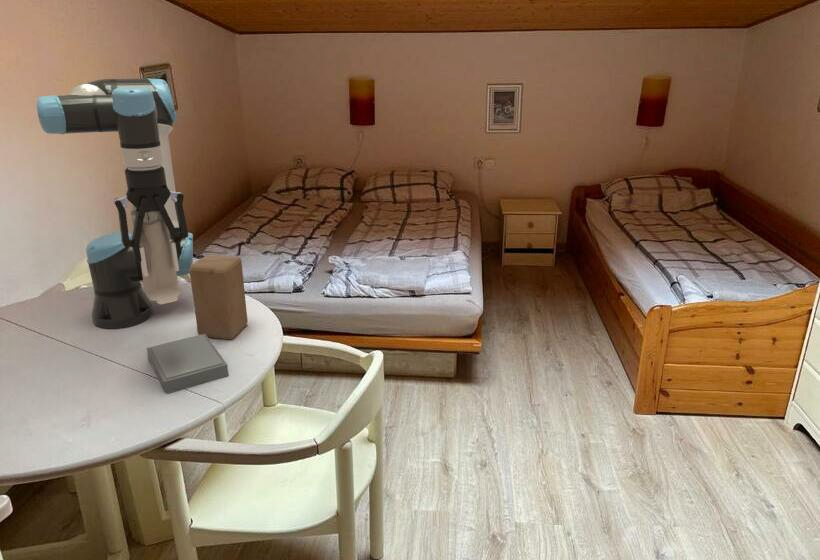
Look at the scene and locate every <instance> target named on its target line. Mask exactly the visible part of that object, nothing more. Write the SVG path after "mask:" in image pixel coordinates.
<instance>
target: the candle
mask: <svg viewBox="0 0 820 560" xmlns="http://www.w3.org/2000/svg"><path fill="white" fill-rule="evenodd" d="M135 216H136V207H135V206H134V205H133V204H132V208H131V210H130V217H131V222H132V226H133V227H134V223H135ZM169 240H170V233H169V230H168V228H167V226H166V224H165V222H164V220H163V218H162V216H161V214H160V212H159V211H150V212H146V213H145V217H144V220H143V226H142V233H141V239H140V244H142V246H143V248H144V253H145V259H146V265H147V271H148V276H147V277H145V276H144V275H143V272H142V276H143V280H142V282H143V286H144V287H143V288H144V290H145V292H146V293H145V294H146V296H147V298H148V299H149V301H152V302H156V303H157V304H158V305H164V304H170V303H173V302H176V301H178V300H179V296H180V295H181V294H182V291H183V290H182V287H181V286H180V284H179V280H178V279H179V278H178V276H177V274H176V271H175V269H174V268H173V263H172V256H171V250H170V243H169ZM141 269H142V267H141Z"/></svg>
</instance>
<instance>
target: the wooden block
mask: <svg viewBox="0 0 820 560" xmlns="http://www.w3.org/2000/svg"><path fill="white" fill-rule="evenodd" d="M242 263H243V261H242V258H241V257H240V256H229V255H219V254H206V255H205V256H203V257H202V258H200V259H198V260H196V262H193V265H191V266H190V268H189V272H190V273H189V278H190V279H189V280H190V284H191V285H190V286H191V293H192V299H193V306H194V307H193V308H194V313H195V315H194V316H195V320H196V321H195V323H196V329H197V335H201V334H206V336H207V337H208V338H213V339H221V340H233V339H234V338H235V337H236V336H237V335H239V333H240V332H242V330H243V329H245V327H246V326H247V325H248V321H249V320H248V314H247V313H248V312H247V303H246V302H247V301H246V293H245V284H244V283H245V282H244V274H243V264H242Z"/></svg>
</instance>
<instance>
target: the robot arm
mask: <svg viewBox="0 0 820 560" xmlns="http://www.w3.org/2000/svg"><path fill="white" fill-rule="evenodd" d="M36 110H37V116H38V120H39V121H38V122H39V124H40V127H41V129H42V130H43V132H45V133H46V134H49V135H50V134H52V135H55V134H58V135H59V134H60V135H66V134H67V135H68V134H85V133H112V132H113V133H115V132H116V133H118V137H119V142H120V143H119V144H120V145H119V146H120V151H121V152H120V153H121V158H122V163H123V166H124V167H126V168H125V170H124V175H125V180H126V181H125V182H126V185H127V186H126V187H127V191H126V194H125V196H123V197H120V198H114V199H113V203H114V205H115V207H116V209H117V213H118V222H119V228H120V229H119V230H120V231H118V232H112V233H108V234H105V235H102V236H99V237H96V238H94V239H93V240H91V241H90V242H89V243H88V244H87V245H86V248H85V249H86V250H85V251H86V257H87V259H86V263H87V264H88V268H89V272H90V277H91V282H92V288H93V291H94V298H93V299H94V300H93V306H92V312H91V317H92V323H93V324H94V325H95V326H97V327H98V328H102V329H121V328H127V327H132V326H135V325H138V324H141V323H143V322H145V321H147V320H148V319H149V318H150V317H152V315H153V307H152V303H151V300H150V299H149V298H148V296H147V293H145V291H144V289H143V288H142V283H141V281H143V276H142V272H143V275H144V276H145V277H147V276H148V271H147V265H146V259H145V253H144V248H143V246H142V244H140V239H141V233H142V226H143V220H144V217H145V213H146V212H150V211H159V212H160V214H161V216H162V218H163V220H164V222H165V224H166V226H167V228H168V230H169V233H170V240H169V243H170V250H171V256H172V263H173V268H174V269H175V271H176V274H177V277H179V276H180V277H181V276H187V275H190V272H189V268H190V266H191V265H193V264H194V256H193V255H194V254H193V253H194V235H193V233H191V232H188V227H187V223H186V217H185V211H184V207H183V205H184V194H183V193H182V192H181V191H176V185H175V177H174V171H173V170H174V169H173V164H172V163H173V162H172V154H171V148H170V140H169V135H170V133H171V132H172V131H173V129H174V127H173V124H175V123H177V122H178V118H177V117H178V116H177V113H176V109H175V105H174V100H173V97H172V94H171V90H170V87H169V84H168V83H167V81H166V80H164V79H160V78H149V77H147V78H103V79H96V80H93V81H88V82H86V83H82V84H79V85H77V86H75V87H74V88H72V89H71V91H70V92H69V93H68V94H65V95H56V94H51V95H43V96H39V97H38V98H37V101H36ZM128 202H129V203H130V204H132V206H133V205H134V206H135V207H136V216H135V223H134V226H133V229H132V233H131V232H129V228H128V227H129V226H128V217H127V211H126V208H128ZM141 267H142V269H141Z"/></svg>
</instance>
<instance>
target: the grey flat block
mask: <svg viewBox="0 0 820 560" xmlns="http://www.w3.org/2000/svg"><path fill="white" fill-rule="evenodd" d="M146 353H147V358H148V360H149V363H150V364H151V366H152V368H153V371H154V373H155V374H156V377H157V378H158V380H159V383H160V385H161V388H162V389H163V391H164V393H165V394H170V393H174V392H176V391H180V390H184V389H187V388H190V387H193V386H194V387H195V386H197V385H201V384H205V383H209V382H212V381H215V380H219V379H222V378H225V377H229V367H228V363H227V362H226V361H225V359H224V358H223V356H222V355H221V353H220V352H219V351H218V349H217V348H216V346H215V345H214V344H213V342H212V341H211V340H210V337H207V336H206V334H201V335H199V334H197V335H194V336H189V337H186V338H181V339H177V340H173V341H170V342H166V343H161V344H158V345H153V346H149V347H146Z"/></svg>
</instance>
